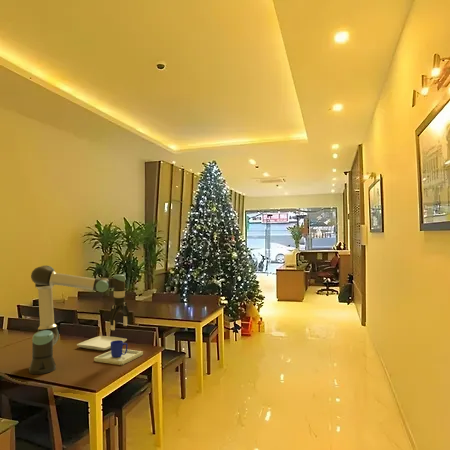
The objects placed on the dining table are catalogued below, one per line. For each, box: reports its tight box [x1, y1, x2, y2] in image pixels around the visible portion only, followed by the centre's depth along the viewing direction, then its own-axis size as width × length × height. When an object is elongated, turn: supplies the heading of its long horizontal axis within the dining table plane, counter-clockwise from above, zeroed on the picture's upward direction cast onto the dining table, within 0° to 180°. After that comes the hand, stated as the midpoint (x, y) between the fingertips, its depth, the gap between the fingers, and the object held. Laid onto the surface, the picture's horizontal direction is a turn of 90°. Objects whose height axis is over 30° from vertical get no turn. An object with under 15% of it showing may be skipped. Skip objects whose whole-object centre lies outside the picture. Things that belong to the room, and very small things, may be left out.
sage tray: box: [93, 348, 144, 366], centre depth 256 cm, size 23×23×2 cm
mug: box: [110, 340, 129, 358], centre depth 256 cm, size 8×12×10 cm
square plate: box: [76, 335, 128, 351], centre depth 287 cm, size 27×27×4 cm
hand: (119, 327), depth 256 cm, fingers open, 13 cm apart
